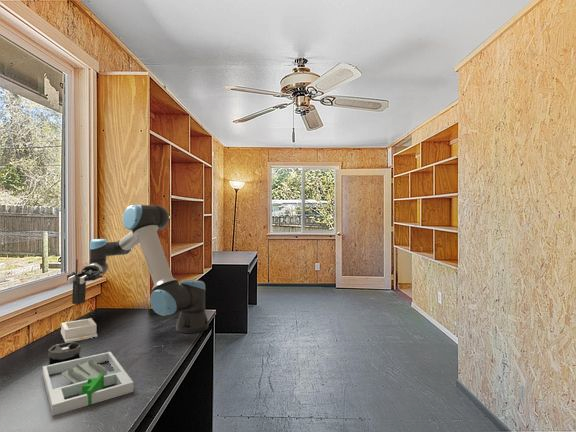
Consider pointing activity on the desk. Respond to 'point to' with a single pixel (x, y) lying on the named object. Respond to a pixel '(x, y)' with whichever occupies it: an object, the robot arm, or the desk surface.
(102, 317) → the desk surface
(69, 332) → the charging cradle
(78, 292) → the walkie-talkie
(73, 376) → the metal bracket
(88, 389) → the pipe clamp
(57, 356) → the cpu cooler
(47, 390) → the desk organiser
